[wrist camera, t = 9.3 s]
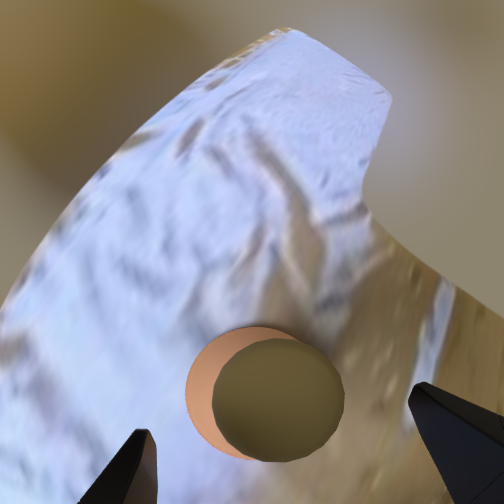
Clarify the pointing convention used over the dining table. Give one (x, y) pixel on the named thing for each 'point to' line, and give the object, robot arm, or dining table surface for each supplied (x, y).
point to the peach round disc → (205, 378)
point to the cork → (278, 400)
